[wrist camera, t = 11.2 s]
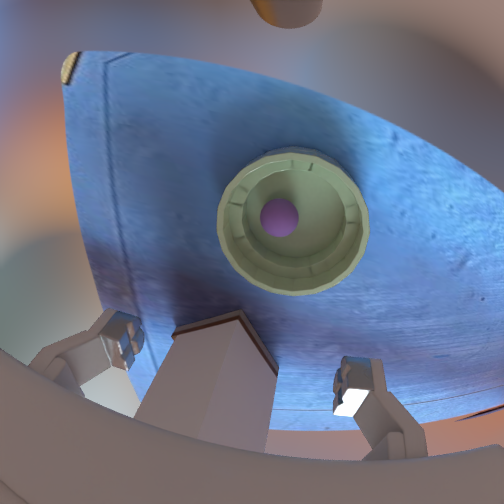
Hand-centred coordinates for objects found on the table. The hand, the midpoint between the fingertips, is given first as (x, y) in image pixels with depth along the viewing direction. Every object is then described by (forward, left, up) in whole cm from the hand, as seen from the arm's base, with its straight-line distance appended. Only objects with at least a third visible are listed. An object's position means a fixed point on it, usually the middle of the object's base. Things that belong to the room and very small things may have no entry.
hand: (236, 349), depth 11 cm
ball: (+1, 0, -18) cm, 18 cm away
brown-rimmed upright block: (+22, -5, -21) cm, 31 cm away
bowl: (+1, +1, -20) cm, 21 cm away
